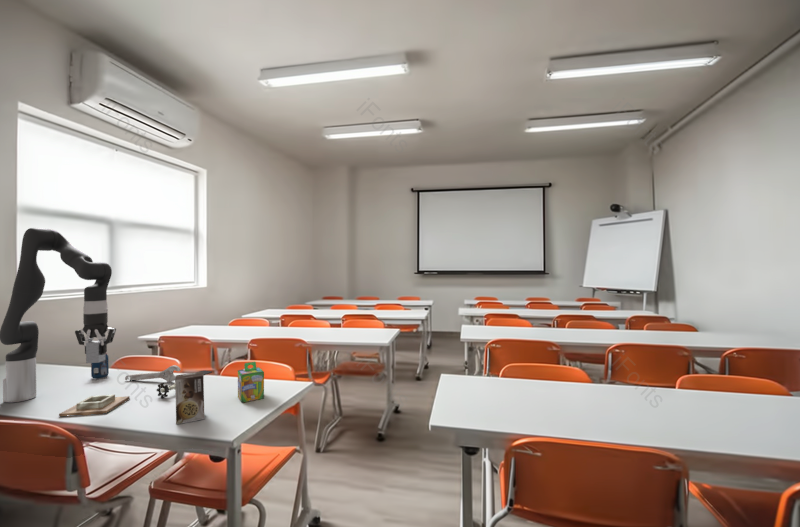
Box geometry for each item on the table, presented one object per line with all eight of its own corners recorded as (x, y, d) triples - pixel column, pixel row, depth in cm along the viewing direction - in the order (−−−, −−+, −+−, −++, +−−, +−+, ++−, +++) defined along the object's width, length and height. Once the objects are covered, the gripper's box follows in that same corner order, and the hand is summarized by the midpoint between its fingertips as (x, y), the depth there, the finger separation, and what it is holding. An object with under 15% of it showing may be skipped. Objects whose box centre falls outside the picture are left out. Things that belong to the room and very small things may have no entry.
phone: (213, 371, 198) (187, 379, 184) (213, 373, 198) (187, 381, 184) (203, 370, 201) (177, 377, 187) (203, 371, 201) (177, 379, 187)
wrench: (129, 385, 186) (182, 381, 181) (125, 387, 184) (179, 382, 180) (127, 369, 186) (180, 364, 182) (124, 370, 184) (177, 365, 180)
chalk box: (241, 403, 152) (241, 366, 152) (237, 397, 159) (236, 362, 159) (264, 398, 157) (264, 363, 157) (259, 392, 164) (259, 359, 165)
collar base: (59, 417, 140) (59, 408, 140) (87, 401, 156) (87, 393, 156) (106, 413, 143) (106, 404, 143) (129, 399, 158) (129, 391, 158)
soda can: (96, 375, 194) (96, 352, 194) (111, 375, 195) (111, 352, 195) (88, 379, 187) (87, 355, 187) (103, 378, 188) (103, 355, 189)
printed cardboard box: (204, 413, 141) (203, 371, 142) (204, 419, 136) (204, 375, 136) (176, 418, 137) (175, 374, 137) (175, 424, 131) (174, 379, 132)
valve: (182, 389, 171) (156, 397, 160) (181, 374, 171) (156, 382, 160) (192, 390, 169) (167, 399, 158) (192, 376, 169) (166, 383, 158)
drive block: (86, 363, 147) (86, 342, 147) (93, 360, 151) (93, 340, 151) (98, 362, 148) (98, 342, 148) (105, 359, 152) (105, 340, 152)
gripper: (68, 313, 145) (69, 357, 144) (109, 312, 147) (110, 355, 147) (81, 311, 152) (82, 353, 152) (120, 310, 154) (121, 351, 154)
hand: (96, 354), depth 149 cm, fingers closed on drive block, 4 cm apart
